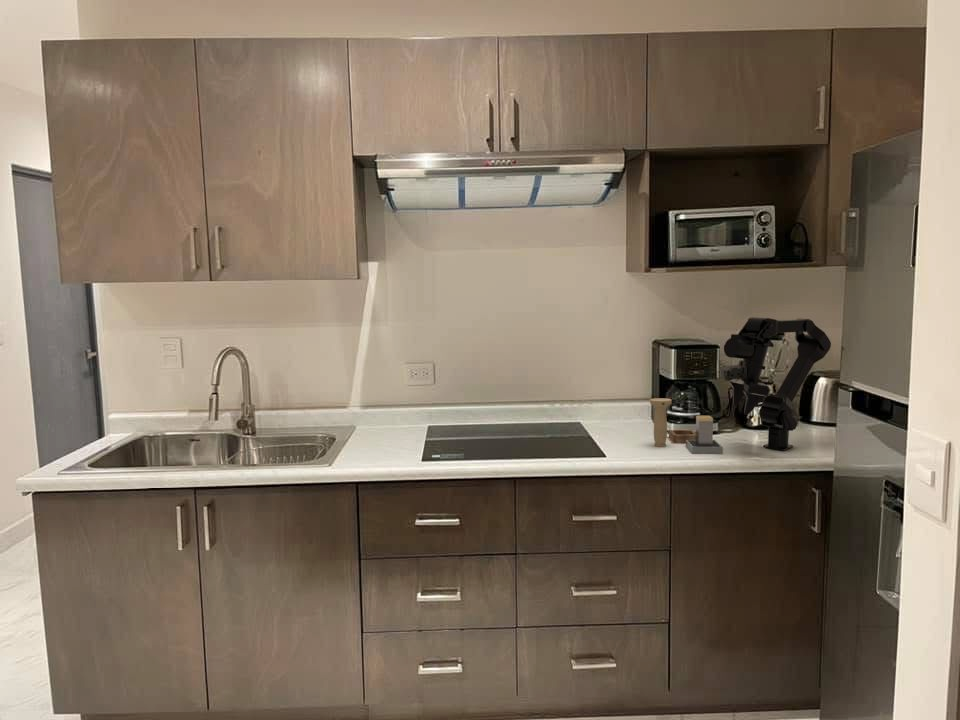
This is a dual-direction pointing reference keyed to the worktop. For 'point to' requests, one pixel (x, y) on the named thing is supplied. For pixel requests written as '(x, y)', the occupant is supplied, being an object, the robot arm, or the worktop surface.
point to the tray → (704, 448)
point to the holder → (681, 436)
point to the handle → (660, 420)
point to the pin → (704, 431)
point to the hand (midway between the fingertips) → (740, 410)
